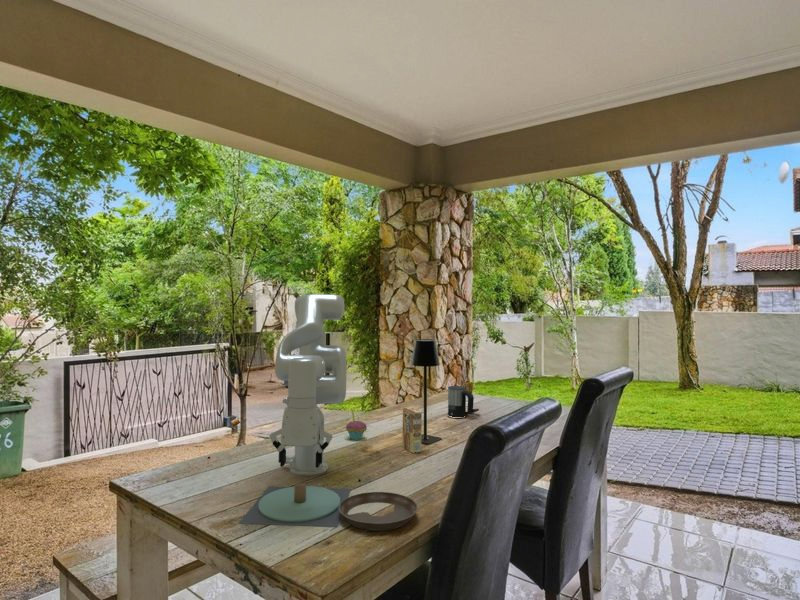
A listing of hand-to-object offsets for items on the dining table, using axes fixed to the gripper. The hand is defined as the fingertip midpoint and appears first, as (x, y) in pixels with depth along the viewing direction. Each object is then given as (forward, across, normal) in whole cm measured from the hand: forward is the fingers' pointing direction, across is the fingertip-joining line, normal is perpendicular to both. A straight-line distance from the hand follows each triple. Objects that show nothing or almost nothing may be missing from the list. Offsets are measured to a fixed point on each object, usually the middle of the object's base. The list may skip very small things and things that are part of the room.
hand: (300, 465), depth 135 cm
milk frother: (+8, +55, +115) cm, 128 cm away
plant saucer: (+12, +22, -4) cm, 25 cm away
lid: (+11, 0, +1) cm, 11 cm away
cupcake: (+10, +7, +69) cm, 70 cm away
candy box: (+10, +30, +56) cm, 64 cm away
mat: (+11, 0, +1) cm, 11 cm away
